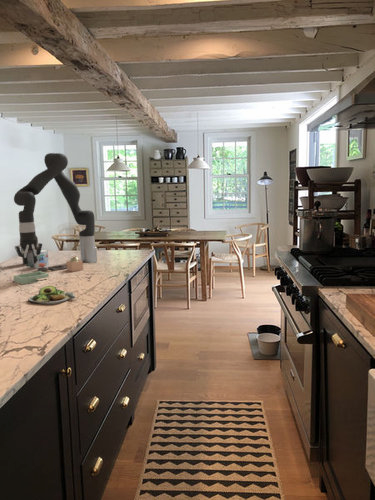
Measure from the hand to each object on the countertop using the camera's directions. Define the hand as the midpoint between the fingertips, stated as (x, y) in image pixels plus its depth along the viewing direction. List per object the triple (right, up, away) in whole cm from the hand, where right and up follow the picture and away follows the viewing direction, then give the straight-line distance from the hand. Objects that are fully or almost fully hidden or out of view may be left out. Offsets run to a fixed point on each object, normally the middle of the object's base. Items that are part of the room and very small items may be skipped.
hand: (30, 263), depth 200 cm
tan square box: (+18, -5, +19) cm, 27 cm away
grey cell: (0, -1, 0) cm, 1 cm away
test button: (0, -2, +16) cm, 16 cm away
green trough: (0, -9, +1) cm, 9 cm away
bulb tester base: (+4, -6, +20) cm, 21 cm away
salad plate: (+23, -14, -33) cm, 43 cm away
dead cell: (+18, -5, +19) cm, 26 cm away
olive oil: (-20, -2, +49) cm, 53 cm away
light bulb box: (-7, -4, +31) cm, 32 cm away
